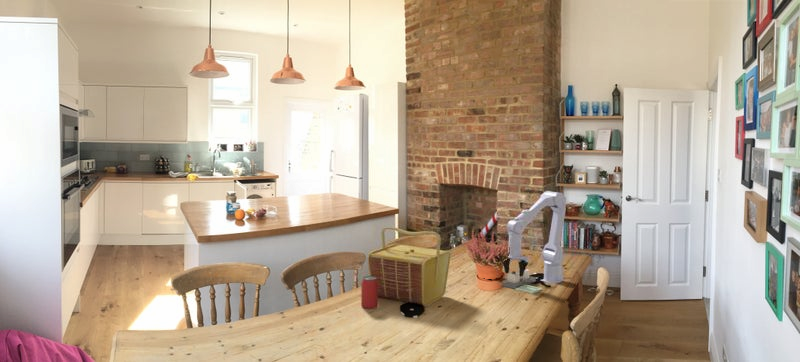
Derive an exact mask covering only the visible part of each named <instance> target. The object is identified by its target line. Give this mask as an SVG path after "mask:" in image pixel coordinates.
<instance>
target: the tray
mask: <svg viewBox="0 0 800 362" xmlns="http://www.w3.org/2000/svg"><path fill="white" fill-rule="evenodd" d="M542 290H543V288H542V287H537V286H533V285H530V284H528V285H523V286H520V287H518V288H516V289H515V291H519V292H523V293H527V294H531V295H533V294H535V293H538V292H541V291H542Z"/></svg>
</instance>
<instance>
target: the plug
mask: <svg viewBox="0 0 800 362" xmlns="http://www.w3.org/2000/svg"><path fill="white" fill-rule="evenodd" d="M507 279H508V282H510V283H515V284H516V283H519V282H520V276H519V273H518V272H516V271H515V270H514V271H513V270H512V271H511V272H510V271H509V273H507Z"/></svg>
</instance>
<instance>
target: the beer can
mask: <svg viewBox="0 0 800 362" xmlns="http://www.w3.org/2000/svg"><path fill="white" fill-rule="evenodd" d="M360 290H361V297H360V298H361V300H360V302H361V307H362V308H364V309H367V310H371V309H375V308H377V307H378V296H377V295H378V283H377V280H376V277H373V276H370V275H367V276H364V277H362V280H361V289H360Z"/></svg>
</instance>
